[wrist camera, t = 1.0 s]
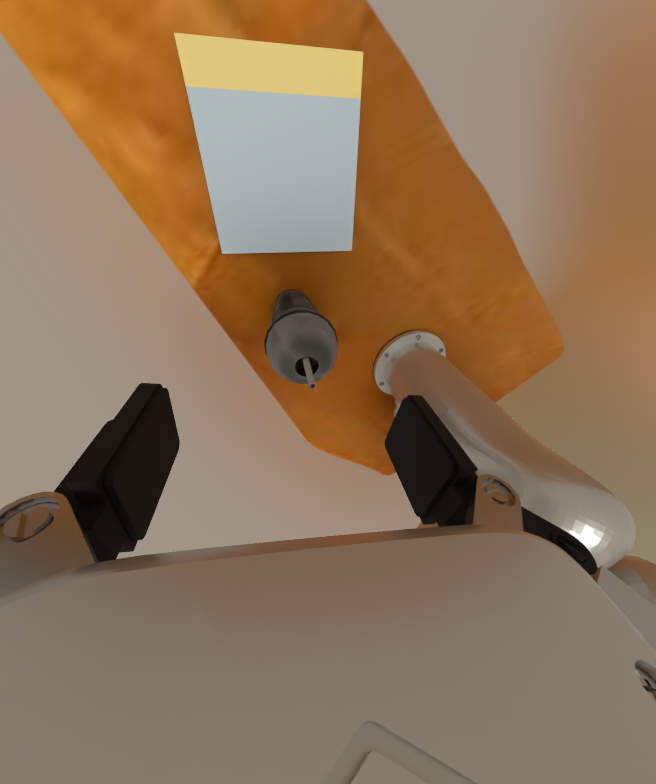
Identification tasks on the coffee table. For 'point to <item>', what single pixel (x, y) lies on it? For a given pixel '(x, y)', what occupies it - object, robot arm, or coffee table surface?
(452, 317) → the coffee table surface
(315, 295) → the coffee table surface
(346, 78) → the plate
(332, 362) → the beverage cup
